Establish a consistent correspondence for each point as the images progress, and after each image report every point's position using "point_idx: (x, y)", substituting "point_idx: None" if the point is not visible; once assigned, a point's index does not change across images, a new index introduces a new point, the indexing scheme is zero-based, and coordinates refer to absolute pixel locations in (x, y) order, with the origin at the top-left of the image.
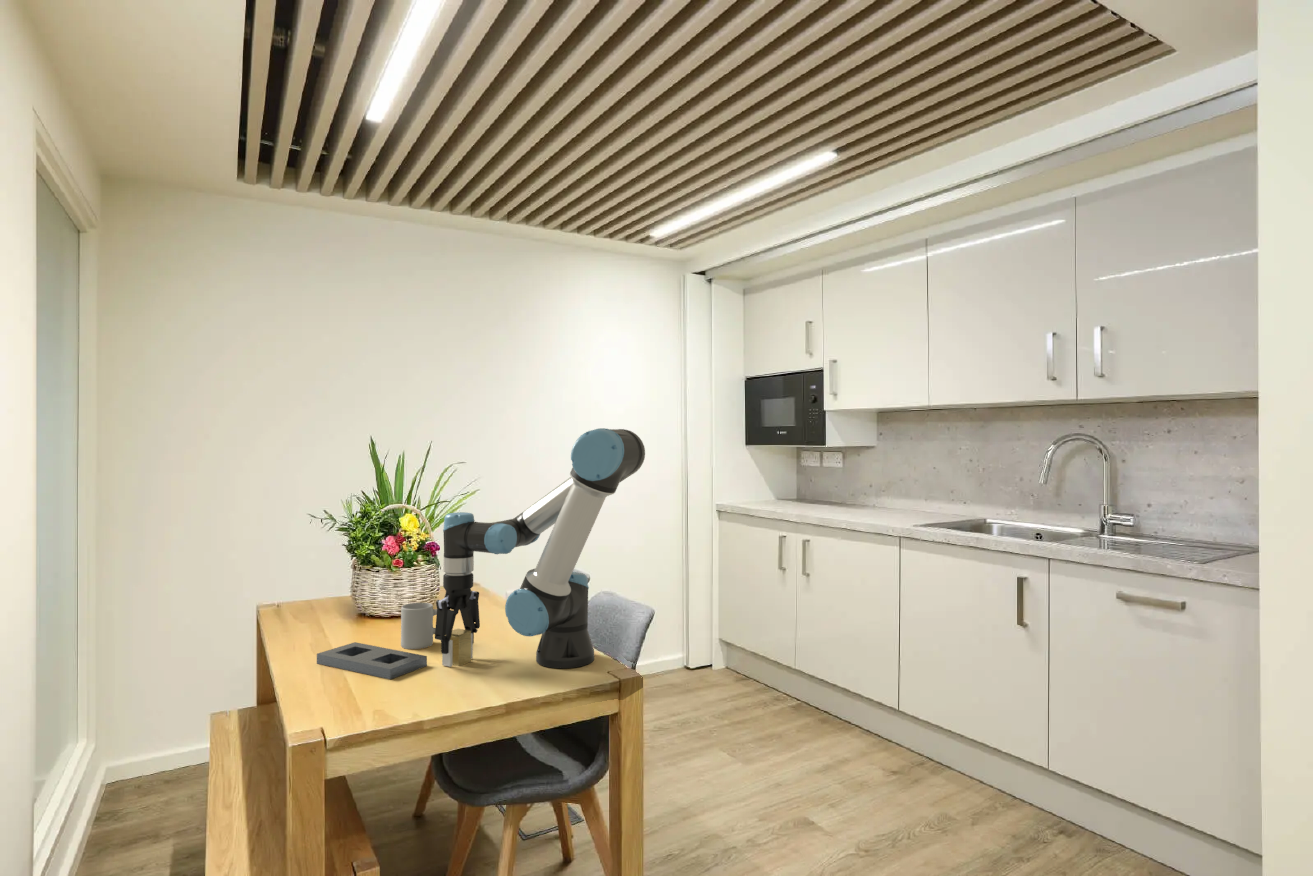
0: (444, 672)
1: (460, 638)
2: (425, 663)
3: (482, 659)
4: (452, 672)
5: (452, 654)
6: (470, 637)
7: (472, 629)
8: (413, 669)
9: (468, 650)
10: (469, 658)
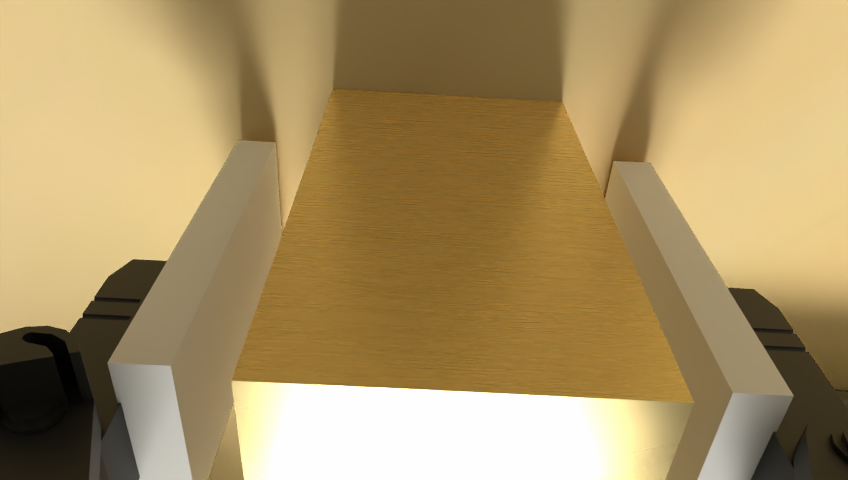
0: (838, 106)
1: (616, 331)
2: None
3: (175, 5)
4: (823, 13)
5: (653, 237)
6: (287, 278)
7: (67, 438)
8: (843, 401)
9: (369, 162)
10: (356, 109)
